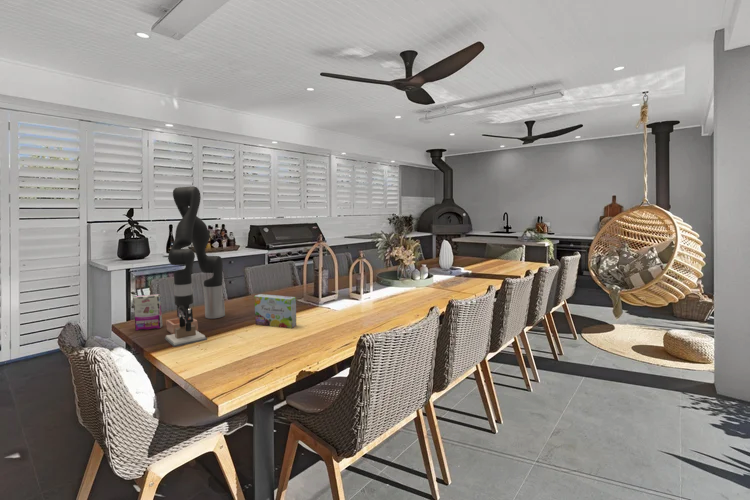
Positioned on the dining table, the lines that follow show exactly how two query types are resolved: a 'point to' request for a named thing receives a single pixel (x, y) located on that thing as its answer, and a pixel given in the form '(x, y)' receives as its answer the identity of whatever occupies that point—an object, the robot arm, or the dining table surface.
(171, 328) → the dish
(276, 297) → the snack box
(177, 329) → the lid
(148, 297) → the candy bar box
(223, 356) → the dining table surface
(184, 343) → the mat
